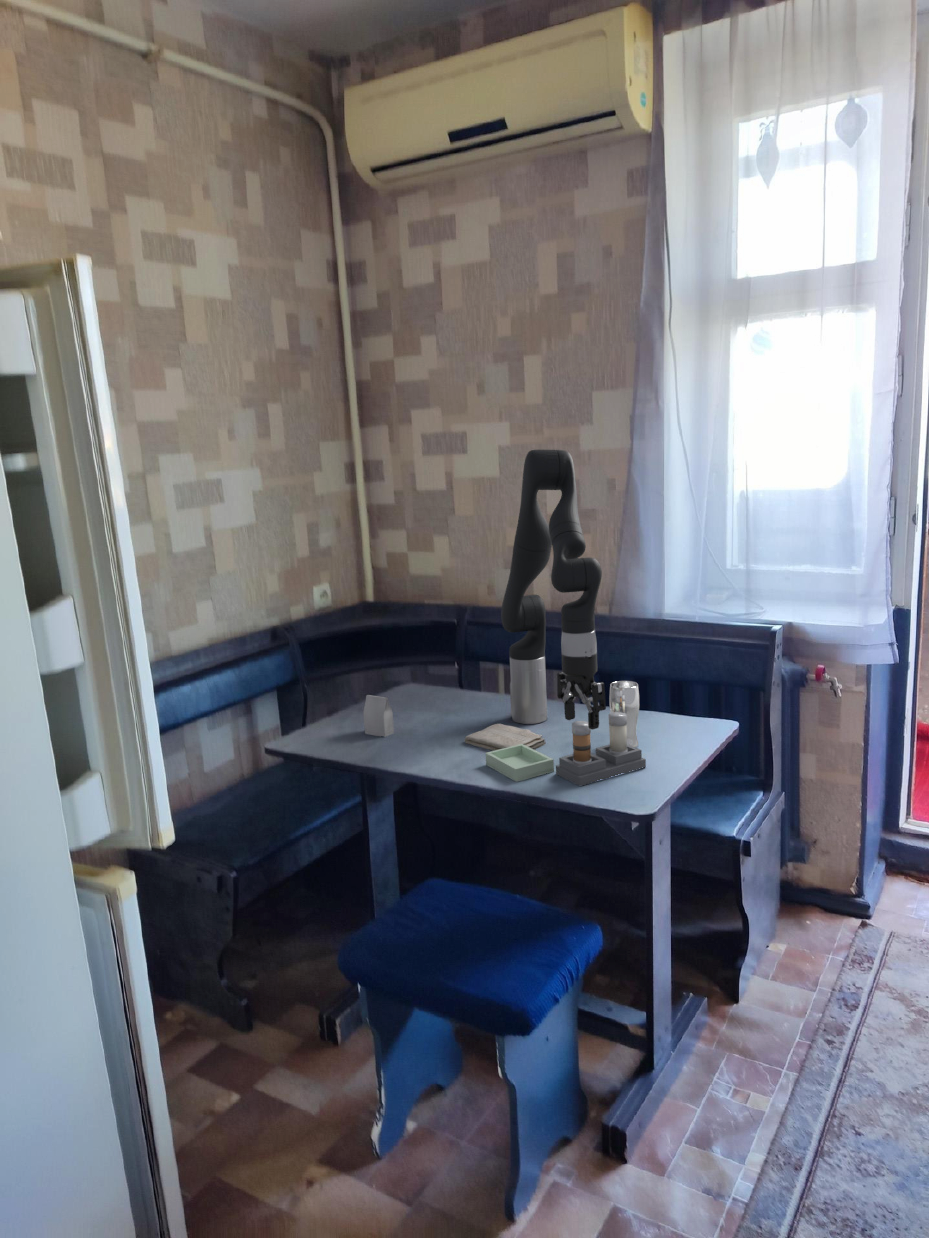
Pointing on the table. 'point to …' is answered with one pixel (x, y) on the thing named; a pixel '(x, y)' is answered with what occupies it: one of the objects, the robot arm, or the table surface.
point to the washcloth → (504, 737)
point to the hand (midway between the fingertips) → (581, 723)
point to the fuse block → (600, 765)
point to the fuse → (618, 732)
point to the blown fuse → (581, 742)
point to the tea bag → (378, 716)
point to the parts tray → (519, 762)
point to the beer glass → (626, 706)
